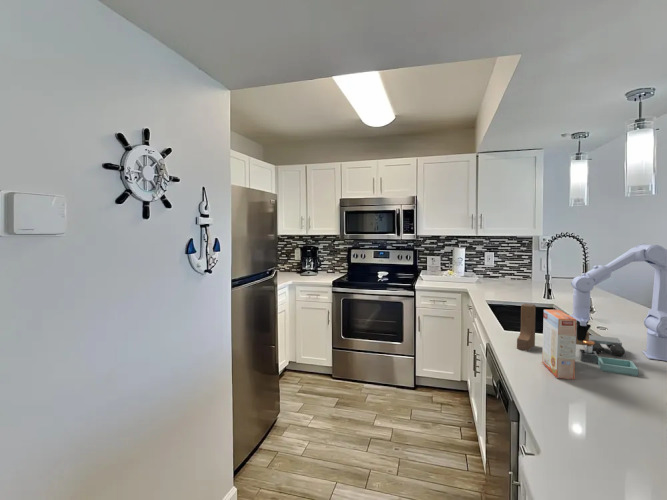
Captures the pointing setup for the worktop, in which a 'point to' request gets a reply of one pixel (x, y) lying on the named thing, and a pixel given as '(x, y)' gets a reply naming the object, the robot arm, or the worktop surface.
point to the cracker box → (559, 343)
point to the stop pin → (588, 346)
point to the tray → (617, 366)
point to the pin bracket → (588, 356)
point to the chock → (582, 341)
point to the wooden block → (527, 327)
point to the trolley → (611, 343)
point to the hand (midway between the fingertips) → (580, 338)
